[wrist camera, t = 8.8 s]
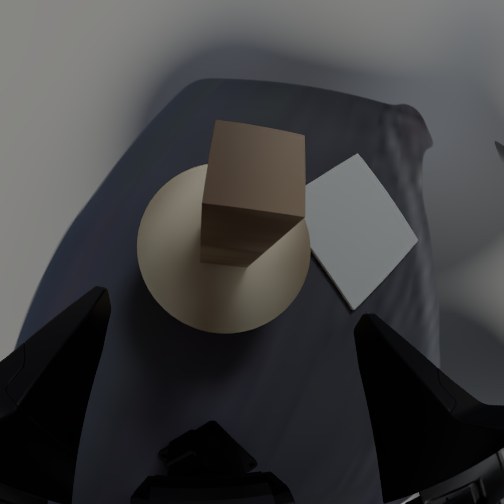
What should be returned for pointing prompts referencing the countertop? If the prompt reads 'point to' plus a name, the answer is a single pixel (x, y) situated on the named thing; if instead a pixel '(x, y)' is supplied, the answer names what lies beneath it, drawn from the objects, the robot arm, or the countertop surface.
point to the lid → (230, 232)
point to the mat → (355, 229)
